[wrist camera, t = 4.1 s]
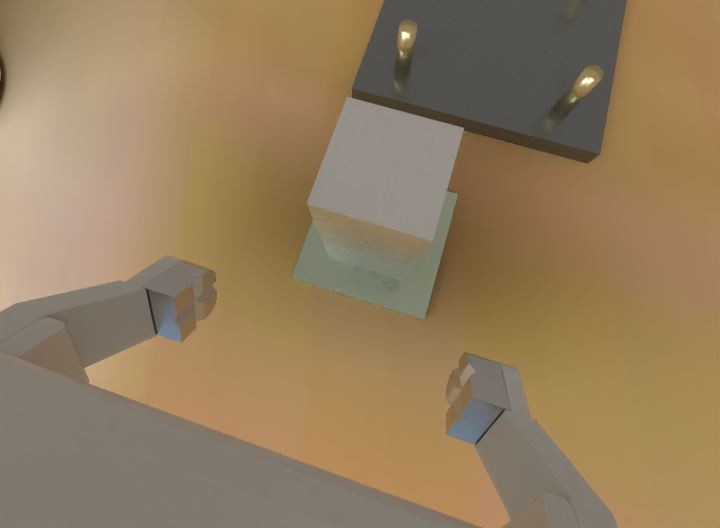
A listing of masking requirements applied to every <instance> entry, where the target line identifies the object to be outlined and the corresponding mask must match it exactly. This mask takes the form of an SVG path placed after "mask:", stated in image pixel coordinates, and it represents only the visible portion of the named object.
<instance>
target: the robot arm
mask: <svg viewBox="0 0 720 528" xmlns="http://www.w3.org/2000/svg"><path fill="white" fill-rule="evenodd" d="M0 79H1V70H0ZM215 281H216V275H215V272H214V271H213V270H211V269H208V268H205V267H202V266H199V265H197V264H194V263H191V262H188V261H185V260H181V259H178V258H176V257H173V256H165V257H163V258H161V259H160V260H158V261H157V262H155V263H154V264H152V265H151V266H149V267H148V268H146V269H144V270H143V271H141V272H140V273H138V274H137V275H135V276H134V277H132V278H130V279H129V280H127V281H126V282H123V281H116V282H111V283H107V284H102V285H98V286H93V287H89V288H84V289H80V290H75V291H71V292H66V293H62V294H57V295H52V296H48V297H43V298H39V299H34V300H30V301H25V302H21V303H16V304H14V305H12V306H10V307H9V308H7V309H5V310H3V311H1V312H0V528H482V527H479V526H476V525H473V524H471V523H468V522H465V521H463V520H460V519H457V518H454V517H452V516H449V515H446V514H443V513H441V512H438V511H435V510H432V509H430V508H427V507H424V506H422V505H419V504H416V503H413V502H411V501H408V500H405V499H402V498H400V497H397V496H394V495H392V494H389V493H386V492H383V491H381V490H378V489H375V488H372V487H370V486H367V485H364V484H362V483H359V482H356V481H353V480H351V479H348V478H345V477H343V476H340V475H337V474H334V473H332V472H329V471H326V470H323V469H321V468H318V467H315V466H313V465H310V464H307V463H304V462H302V461H299V460H296V459H293V458H291V457H288V456H285V455H283V454H280V453H277V452H274V451H272V450H269V449H266V448H263V447H261V446H258V445H255V444H252V443H250V442H247V441H244V440H242V439H239V438H236V437H233V436H231V435H228V434H225V433H222V432H220V431H217V430H214V429H211V428H209V427H206V426H203V425H200V424H198V423H195V422H192V421H190V420H187V419H184V418H181V417H179V416H176V415H173V414H170V413H168V412H165V411H162V410H160V409H157V408H154V407H151V406H149V405H146V404H143V403H140V402H138V401H135V400H132V399H129V398H127V397H124V396H121V395H119V394H116V393H113V392H110V391H108V390H105V389H102V388H99V387H97V386H94V385H91V384H89V379H88V376H87V374H86V372H85V370H84V368H85V367H87V366H90V365H92V364H94V363H96V362H99V361H101V360H103V359H105V358H108V357H110V356H112V355H114V354H117V353H119V352H121V351H123V350H125V349H128V348H130V347H132V346H134V345H137V344H139V343H141V342H143V341H146V340H148V339H150V338H152V337H155V336H156V335H159V336H162V337H165V338H169V339H172V340H175V341H178V342H181V343H182V342H183V341H184V340H185V339H186V338H187V337H188V336H189V335H190V334H191V333H192V332H193V331H194V330H195V329H196V321H199V320H202V319H205V318H206V317H207V316H208V315H209V314H210V313H211V312H212V310H213V308H214V306H215V304H216V299H217V291H216V290H215V288H214V287H213V285H212V284H213V283H214V282H215ZM446 400H447V402H448V404H449V405H450V408H449V409H448V411H447V412H446V434H447V435H449V436H452V437H455V438H457V439H460V440H463V441H465V442H468V443H471V444H473V445H476V446H475V448H476V450H477V452H478V454H479V456H480V458H481V460H482V462H483V464H484V466H485V468H486V470H487V472H488V474H489V476H490V478H491V480H492V482H493V484H494V486H495V488H496V490H497V492H498V494H499V496H500V498H501V500H502V502H503V504H504V506H505V508H506V510H507V512H508V514H509V516H510V518H511V520H510V521H509V522H508V523H507V524H505V525H504V526H503V527H501V528H618V527H617V525H616V522H615V520H614V517H613V514H612V513H611V512H610V510H609V509H608V508H607V507H606V505H605V504H604V503H603V502H602V501H601V499H600V498H599V497H598V496H597V494H596V493H595V492H594V491H593V489H592V488H591V487H590V486H589V485H588V483H587V482H586V481H585V480H584V478H583V477H582V476H581V475H580V473H579V472H578V471H577V470H576V468H575V467H574V466H573V465H572V464H571V462H570V461H569V460H568V459H567V457H566V456H565V455H564V454H563V452H562V451H561V450H560V449H559V447H558V446H557V445H556V444H555V443H554V441H553V440H552V439H551V438H550V436H549V435H548V434H547V433H546V431H545V430H544V429H543V428H542V427H541V425H540V424H539V423H538V422H537V420H535V419H532V418H531V417H530V413H529V409H528V405H527V401H526V398H525V394H524V390H523V386H522V382H521V378H520V374H519V371H518V370H517V368H516V367H512V366H509V365H506V364H503V363H498V362H495V361H492V360H489V359H486V358H483V357H480V356H476V355H473V354H470V353H467V352H465V353H464V354H462V356H461V358H460V359H459V367H458V368H456V369H453V371H452V373H451V375H450V377H449V380H448V384H447V389H446Z"/></svg>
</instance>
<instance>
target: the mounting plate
mask: <svg viewBox="0 0 720 528" xmlns="http://www.w3.org/2000/svg"><path fill="white" fill-rule="evenodd" d="M625 6H626V0H385V2H384V4H383V7H382V10H381V12H380V15H379V18H378V20H377V23H376V26H375V28H374V31H373V34H372V36H371V39H370V41H369V44H368V47H367V49H366V52H365V55H364V57H363V60H362V63H361V65H360V68H359V71H358V73H357V76H356V79H355V81H354V84H353V87H352V98H354V99H358V100H361V101H365V102H369V103H372V104H376V105H380V106H384V107H387V108H391V109H395V110H399V111H402V112H406V113H410V114H414V115H417V116H421V117H425V118H428V119H432V120H436V121H440V122H443V123H447V124H451V125H455V126H458V127H462V128H464V130H466V131H469V132H473V133H477V134H480V135H484V136H488V137H492V138H495V139H499V140H503V141H507V142H510V143H514V144H518V145H521V146H525V147H529V148H533V149H536V150H540V151H544V152H548V153H551V154H555V155H559V156H562V157H566V158H570V159H574V160H577V161H581V162H585V163H589V162H590V161H592V160H593V159H594V158H596V157H597V156H598V155H599V154H600V151H601V145H602V139H603V133H604V128H605V122H606V116H607V110H608V105H609V99H610V93H611V87H612V81H613V76H614V70H615V64H616V58H617V52H618V47H619V41H620V35H621V29H622V23H623V18H624V12H625Z"/></svg>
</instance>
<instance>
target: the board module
mask: <svg viewBox="0 0 720 528" xmlns="http://www.w3.org/2000/svg"><path fill="white" fill-rule="evenodd" d="M463 131H464V128H462V127H458V126H455V125H451V124H447V123H443V122H440V121H436V120H432V119H428V118H425V117H421V116H417V115H414V114H410V113H406V112H402V111H399V110H395V109H391V108H387V107H384V106H380V105H376V104H372V103H369V102H365V101H361V100H358V99H354V98H350V97H347V98H346V100H345V103H344V106H343V108H342V111H341V114H340V116H339V119H338V122H337V124H336V127H335V130H334V132H333V135H332V138H331V140H330V143H329V145H328V148H327V151H326V153H325V156H324V159H323V161H322V164H321V167H320V169H319V172H318V175H317V177H316V180H315V183H314V185H313V188H312V191H311V193H310V196H309V199H308V201H307V206H308V209H309V211H310V213H311V215H312V218H313V221H312V223H311V226H310V229H309V231H308V234H307V237H306V240H305V242H304V245H303V248H302V250H301V253H300V256H299V259H298V261H297V264H296V267H295V269H294V272H293V275H292V279H294V280H296V281H300V282H303V283H306V284H309V285H312V286H315V287H319V288H322V289H325V290H328V291H331V292H334V293H338V294H341V295H344V296H347V297H350V298H353V299H357V300H360V301H363V302H366V303H369V304H372V305H375V306H379V307H382V308H385V309H388V310H391V311H394V312H398V313H401V314H404V315H407V316H410V317H413V318H417V319H420V320H425V316H426V312H427V309H428V305H429V301H430V297H431V294H432V290H433V286H434V283H435V279H436V275H437V271H438V268H439V264H440V260H441V257H442V253H443V249H444V245H445V242H446V238H447V234H448V231H449V227H450V223H451V219H452V216H453V212H454V208H455V205H456V201H457V197H458V194H456V193H453V192H449V191H447V189H448V185H449V181H450V178H451V174H452V171H453V167H454V163H455V160H456V156H457V153H458V149H459V145H460V142H461V138H462V135H463Z"/></svg>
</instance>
